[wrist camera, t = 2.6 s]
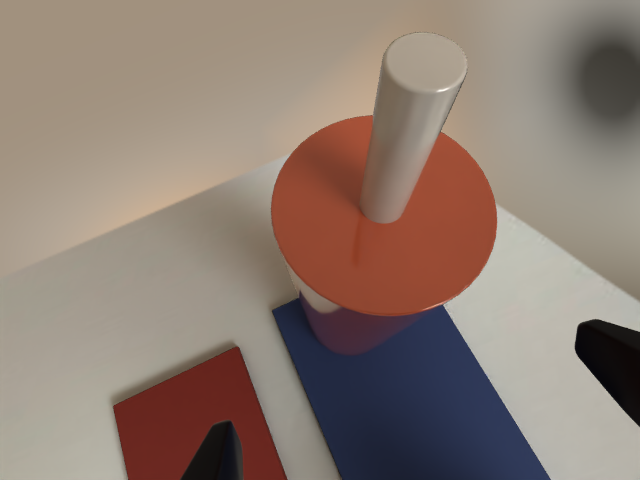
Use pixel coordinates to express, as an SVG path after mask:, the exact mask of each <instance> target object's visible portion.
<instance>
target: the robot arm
mask: <svg viewBox="0 0 640 480" xmlns="http://www.w3.org/2000/svg"><path fill="white" fill-rule="evenodd" d="M575 351H576V354H577V355H578V357H579V358H580V360H581V361H582V362H583V363H584V364H585V365H586V367H587V368H588V369H589V370H590V371H591V373H592V374H593V375H594V376H595V377H596V378H597V380H598V381H599V382H600V383H601V384H602V386H603V387H604V388H605V389H606V390H607V391H608V393H609V394H610V395H611V396H612V397H613V399H614V400H615V401H616V402H617V403H618V404H619V406H620V407H621V408H622V409H623V410H624V411H625V412H626V413H627V414H628V415H629V416H630V418H631V419H632V420H633V421H634V422H635V423H636V424H637V425H638V426H639V427H640V332H638V331H635V330H632V329H628V328H625V327H622V326H618V325H615V324H612V323H608V322H605V321H602V320H598V319H593V320H589V321H585V322H582V323H580V324H579V325H578V327H577V334H576V341H575ZM180 480H244V479H243V452H242V445H241V441H240V439H239V436H238V434H237V432H236V429H235V427H234V425H233V423H232V421H231V420H225V421H221V422H217V423H215V424H213V425H212V426H211V428H210V430H209V431H208V433H207V435H206V436H205V438H204V440H203V441H202V443H201V445H200V446H199V448H198V450H197V451H196V453H195V455H194V457H193V458H192V460H191V462H190V463H189V465H188V467H187V468H186V470H185V472H184V473H183V475H182V477H181V478H180Z"/></svg>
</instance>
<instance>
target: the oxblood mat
mask: <svg viewBox="0 0 640 480" xmlns="http://www.w3.org/2000/svg"><path fill="white" fill-rule="evenodd" d="M113 409H114V413H115V418H116V423H117V428H118V432H119V437H120V442H121V447H122V451H123V456H124V461H125V465H126V470H127V475H128V480H180V478H181V477H182V475H183V473H184V472H185V470H186V468H187V467H188V465H189V463H190V462H191V460H192V458H193V457H194V455H195V453H196V451H197V450H198V448H199V446H200V445H201V443H202V441H203V440H204V438H205V436H206V435H207V433H208V431H209V430H210V428H211V426H212V425H213V424H215V423H217V422H221V421H225V420H231V421H232V423H233V425H234V427H235V429H236V432H237V434H238V436H239V439H240V441H241V445H242V452H243V479H244V480H287V477H286V475H285V472H284V469H283V466H282V464H281V461H280V458H279V456H278V453H277V450H276V447H275V445H274V442H273V439H272V436H271V434H270V431H269V428H268V425H267V423H266V420H265V417H264V414H263V412H262V409H261V406H260V403H259V401H258V398H257V395H256V392H255V390H254V387H253V384H252V381H251V379H250V376H249V373H248V370H247V368H246V365H245V362H244V359H243V357H242V354H241V351H240V348H239V347H235V348H232V349H230V350H228V351H226V352H224V353H222V354H220V355H218V356H216V357H214V358H212V359H210V360H208V361H205V362H203V363H201V364H199V365H197V366H195V367H193V368H191V369H189V370H187V371H185V372H183V373H180V374H178V375H176V376H174V377H172V378H170V379H168V380H166V381H164V382H162V383H160V384H158V385H155V386H153V387H151V388H149V389H147V390H145V391H143V392H141V393H139V394H137V395H135V396H133V397H131V398H128V399H126V400H124V401H122V402H120V403H118V404H116V405H114V406H113Z"/></svg>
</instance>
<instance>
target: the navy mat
mask: <svg viewBox="0 0 640 480" xmlns="http://www.w3.org/2000/svg"><path fill="white" fill-rule="evenodd" d="M272 312H273V315H274V317H275V319H276V322H277V324H278V327H279V329H280V331H281V334H282V336H283V338H284V341H285V343H286V346H287V348H288V350H289V353H290V355H291V358H292V360H293V362H294V365H295V367H296V370H297V372H298V374H299V377H300V379H301V382H302V384H303V386H304V389H305V391H306V394H307V396H308V398H309V401H310V403H311V406H312V408H313V410H314V413H315V415H316V418H317V420H318V422H319V425H320V427H321V429H322V432H323V434H324V437H325V439H326V441H327V444H328V446H329V449H330V451H331V453H332V456H333V458H334V461H335V463H336V465H337V468H338V470H339V473H340V475H341V477H342V480H551V479H550V478H549V476H548V474H547V473H546V471H545V470H544V468H543V466H542V465H541V463H540V461H539V460H538V458H537V457H536V455H535V453H534V452H533V450H532V449H531V447H530V445H529V444H528V442H527V440H526V439H525V437H524V436H523V434H522V432H521V431H520V429H519V428H518V426H517V424H516V423H515V421H514V419H513V418H512V416H511V415H510V413H509V411H508V410H507V408H506V407H505V405H504V403H503V402H502V400H501V398H500V397H499V395H498V394H497V392H496V390H495V389H494V387H493V386H492V384H491V382H490V381H489V379H488V377H487V376H486V374H485V373H484V371H483V369H482V368H481V366H480V365H479V363H478V361H477V360H476V358H475V356H474V355H473V353H472V352H471V350H470V348H469V347H468V345H467V343H466V342H465V340H464V339H463V337H462V335H461V334H460V332H459V331H458V329H457V327H456V326H455V324H454V322H453V321H452V319H451V318H450V316H449V314H448V313H447V311H446V310H445V308H444V306H443V305H442V306H441V307H439V308H437V309H436V310H434V311H433V312H431V313H429V314H428V315H426V316H425V317H423V318H422V319H420V320H418V321H417V322H415V323H414V324H412V325H410V326H409V327H407V328H406V329H404V330H403V331H401V332H399V333H398V334H396V335H395V336H393V337H391V338H390V339H388V340H387V341H385V342H384V343H382V344H380V345H379V346H377V347H376V348H374V349H372V350H371V351H369V352H367V353H364V354H360V355H354V356H347V355H341V354H338V353H335V352H333V351H330V350H329V349H327V348H326V347H324V346H323V345H322V344H321V343H320V342H319V341H318V340H317V339H316V337H315V336H314V334H313V332H312V330H311V328H310V325H309V323H308V320H307V318H306V315H305V313H304V310H303V308H302V305H301V303H300V300H299V298H297V299H295V300H293V301H291V302H289V303H287V304H284V305H282V306H280V307H278V308H276V309H274V310H272Z"/></svg>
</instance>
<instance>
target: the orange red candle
mask: <svg viewBox="0 0 640 480" xmlns="http://www.w3.org/2000/svg"><path fill="white" fill-rule="evenodd" d="M466 74H467V58H466V56H465V54H464V52H463V50H462V49H461V48H460V47H459V46H458V45H457V44H456V43H455V42H454V41H452V40H450V39H449V38H446V37H444V36H442V35H439V34H435V33H429V32H417V33H416V32H415V33H410V34H406V35H403V36H401V37H399V38H397V39H396V40H394V41H393V42H392V43H391V44H390V45H389V47H388V48H387V49H386V51H385V53H384V55H383V59H382V66H381V71H380V77H379V83H378V89H377V96H376V101H375V107H374V114H373V115H370V116H361V117H355V118H350V119H345V120H343V121H340V122H337V123H334V124H331V125H329V126H327V127H325V128H323V129H321V130H319V131H318V132H316V133H314V134H313V135H311V136H310V137H309V138H307V139H306V140H305V141H304V142H302V143H301V144H300V145H299V146H298V147H297V148H296V149H295V150H294V151H293V152H292V154H291V155H290V156H289V158H288V159H287V160H286V162H285V164H284V165H283V167H282V169H281V171H280V173H279V175H278V178H277V180H276V183H275V186H274V190H273V194H272V202H271V219H272V226H273V231H274V235H275V238H276V241H277V244H278V246H279V249H280V252H281V254H282V257H283V259H284V262H285V264H286V267H287V269H288V272H289V275H290V277H291V280H292V282H293V285H294V287H295V290H296V292H297V295H298V297H299V300H300V303H301V305H302V308H303V310H304V313H305V315H306V318H307V320H308V323H309V325H310V328H311V330H312V332H313V334H314V336H315V337H316V339H317V340H318V341H319V342H320V343H321V344H322V345H323V346H324V347H326V348H327V349H329V350H330V351H333V352H335V353H338V354H341V355H347V356H354V355H360V354H364V353H367V352H369V351H371V350H372V349H374V348H376V347H377V346H379V345H380V344H382V343H384V342H385V341H387V340H388V339H390V338H391V337H393V336H395V335H396V334H398V333H399V332H401V331H403V330H404V329H406V328H407V327H409V326H410V325H412V324H414V323H415V322H417V321H418V320H420V319H422V318H423V317H425V316H426V315H428V314H429V313H431V312H433V311H434V310H436V309H437V308H439V307H441V306H442V305H444V304H445V303H447V302H448V301H450V300H452V299H453V298H455V297H456V296H458V295H459V294H460V293H461V292H463V291H464V290H465V289H466V288H468V287H469V286H470V285H471V284H472V282H473V281H474V280H475V279H476V278H477V277H478V276H479V274H480V273H481V271H482V270H483V268H484V266H485V265H486V263H487V261H488V259H489V257H490V254H491V252H492V249H493V246H494V242H495V238H496V229H497V212H496V205H495V200H494V196H493V193H492V190H491V187H490V185H489V183H488V180H487V179H486V177H485V175H484V173H483V171H482V170H481V168H480V167H479V165H478V164H477V162H476V161H475V160H474V159H473V158H472V157H471V156H470V155H469V153H468V152H467V151H466V150H465V149H464V148H462V147H461V146H460V145H459V144H458V143H457V142H456V141H454V140H453V139H451V138H450V137H448V136H447V135H445V134H444V133H442V132H441V130H442V127H443V125H444V123H445V120H446V119H447V116H448V114H449V112H450V110H451V108H452V105H453V103H454V101H455V99H456V97H457V94H458V92H459V90H460V88H461V85H462V83H463V81H464V79H465V77H466Z"/></svg>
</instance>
